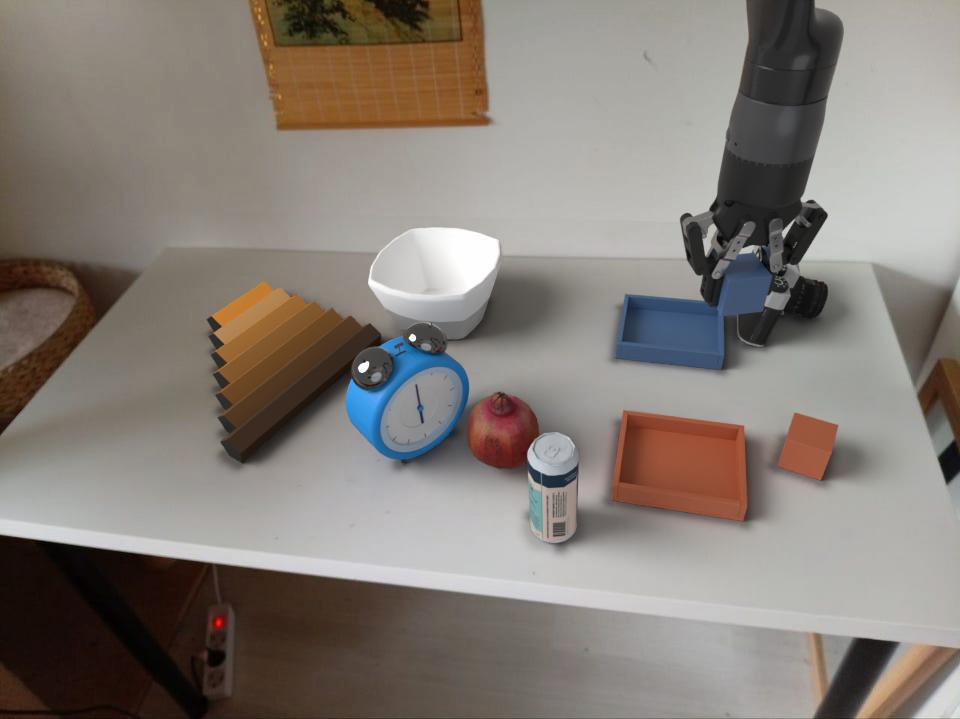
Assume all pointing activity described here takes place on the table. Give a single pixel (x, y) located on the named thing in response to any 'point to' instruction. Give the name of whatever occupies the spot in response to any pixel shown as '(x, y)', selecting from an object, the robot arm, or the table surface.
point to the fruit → (502, 431)
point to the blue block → (744, 286)
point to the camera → (782, 303)
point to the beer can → (553, 487)
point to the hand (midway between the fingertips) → (734, 299)
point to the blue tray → (671, 332)
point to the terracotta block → (808, 446)
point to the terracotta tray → (681, 465)
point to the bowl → (437, 278)
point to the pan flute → (277, 361)
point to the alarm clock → (407, 392)
